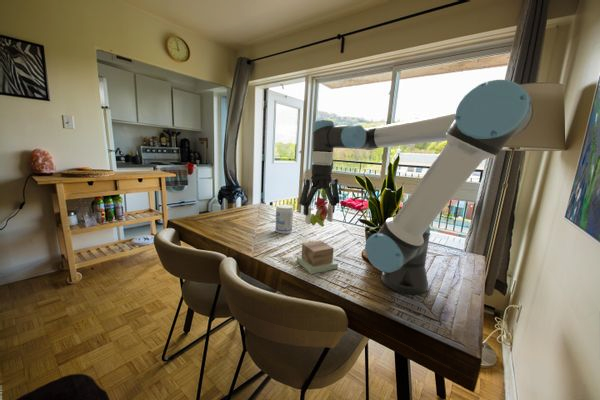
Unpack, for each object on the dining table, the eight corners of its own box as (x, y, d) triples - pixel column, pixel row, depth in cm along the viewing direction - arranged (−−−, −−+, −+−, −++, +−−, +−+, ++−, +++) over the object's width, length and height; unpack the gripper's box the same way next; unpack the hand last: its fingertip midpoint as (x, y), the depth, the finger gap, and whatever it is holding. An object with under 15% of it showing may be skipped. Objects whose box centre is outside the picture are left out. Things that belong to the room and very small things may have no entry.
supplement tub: (272, 232, 135) (272, 206, 132) (279, 228, 143) (280, 203, 140) (288, 235, 131) (289, 208, 128) (295, 230, 140) (295, 205, 137)
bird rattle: (314, 226, 99) (304, 222, 91) (320, 200, 101) (311, 194, 93) (328, 229, 96) (319, 226, 88) (334, 202, 98) (326, 196, 90)
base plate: (337, 268, 95) (337, 263, 95) (310, 273, 90) (310, 268, 90) (321, 256, 106) (322, 252, 106) (297, 260, 101) (297, 256, 100)
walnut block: (332, 262, 96) (333, 247, 95) (313, 266, 92) (314, 251, 91) (319, 253, 104) (320, 240, 103) (301, 257, 99) (302, 243, 98)
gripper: (340, 163, 98) (336, 217, 103) (291, 162, 89) (289, 221, 93) (352, 164, 92) (347, 222, 96) (300, 164, 82) (297, 227, 87)
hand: (318, 222), depth 95 cm, fingers closed on bird rattle, 9 cm apart
